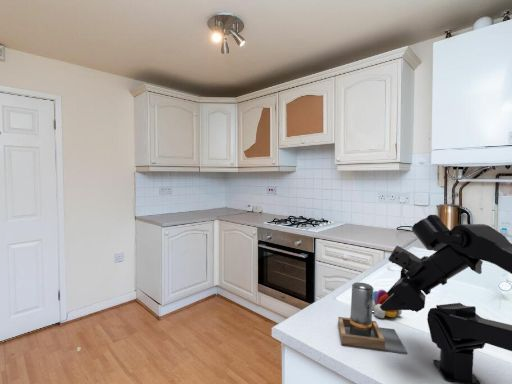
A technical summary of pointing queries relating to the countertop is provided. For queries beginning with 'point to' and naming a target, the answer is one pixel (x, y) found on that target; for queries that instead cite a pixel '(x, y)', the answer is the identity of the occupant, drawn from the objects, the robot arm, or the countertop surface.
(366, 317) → the grey metal cylinder
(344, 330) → the picture frame
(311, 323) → the countertop surface
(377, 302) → the multicolored petal flower
